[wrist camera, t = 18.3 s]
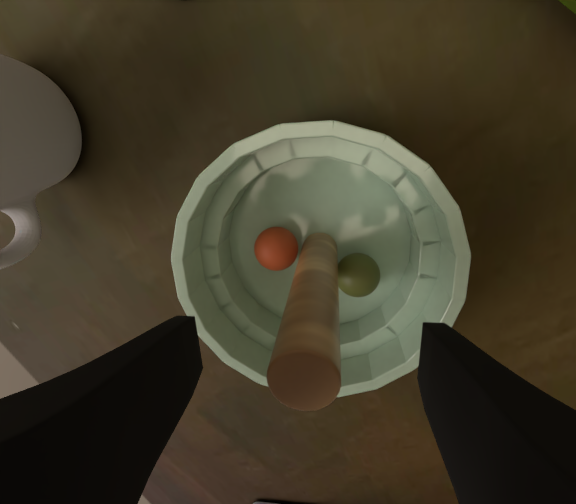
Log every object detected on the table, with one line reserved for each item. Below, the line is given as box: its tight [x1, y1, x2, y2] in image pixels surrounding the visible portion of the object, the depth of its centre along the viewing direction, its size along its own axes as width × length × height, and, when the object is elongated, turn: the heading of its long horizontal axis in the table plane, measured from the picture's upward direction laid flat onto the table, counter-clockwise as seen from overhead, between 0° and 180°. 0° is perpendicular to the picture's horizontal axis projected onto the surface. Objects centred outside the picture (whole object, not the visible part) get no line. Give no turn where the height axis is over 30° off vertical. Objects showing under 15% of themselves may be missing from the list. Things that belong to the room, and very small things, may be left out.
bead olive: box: [338, 253, 380, 297], centre depth 18 cm, size 2×2×2 cm
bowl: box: [171, 120, 471, 397], centre depth 17 cm, size 13×13×5 cm
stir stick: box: [267, 233, 341, 411], centre depth 14 cm, size 2×2×11 cm
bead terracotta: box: [254, 227, 298, 271], centre depth 18 cm, size 2×2×2 cm
